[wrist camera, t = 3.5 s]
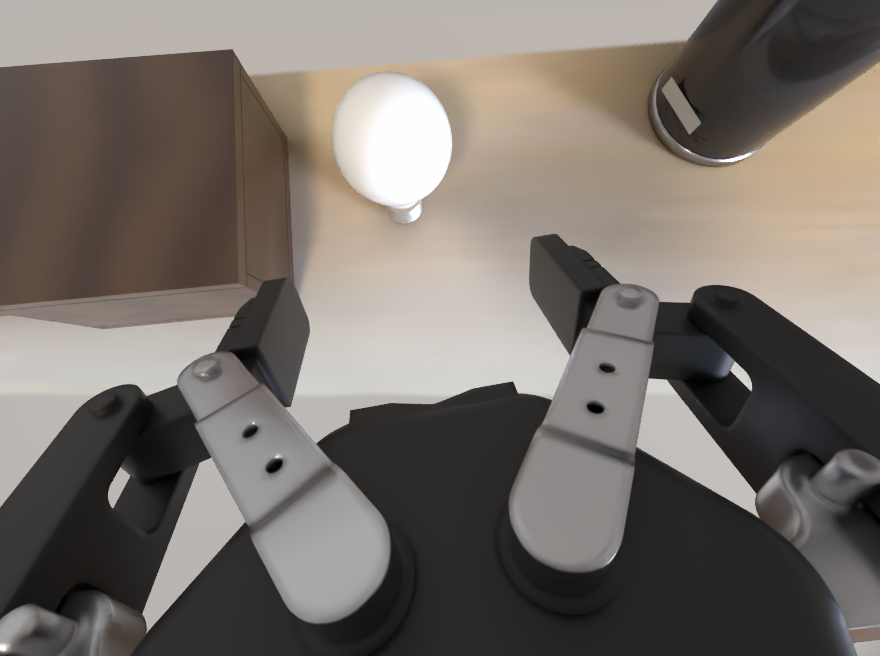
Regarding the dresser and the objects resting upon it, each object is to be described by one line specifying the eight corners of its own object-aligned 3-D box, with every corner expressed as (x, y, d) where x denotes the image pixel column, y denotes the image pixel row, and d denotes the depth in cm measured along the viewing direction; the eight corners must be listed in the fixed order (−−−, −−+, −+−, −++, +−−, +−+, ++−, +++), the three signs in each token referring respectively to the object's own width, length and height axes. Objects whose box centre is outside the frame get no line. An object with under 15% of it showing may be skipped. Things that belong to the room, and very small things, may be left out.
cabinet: (102, 329, 26) (-35, 309, 18) (107, 152, 28) (-16, 68, 20) (295, 310, 26) (238, 283, 19) (287, 137, 28) (232, 48, 20)
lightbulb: (386, 265, 27) (353, 188, 16) (348, 194, 27) (290, 72, 16) (462, 226, 27) (480, 125, 16) (422, 157, 28) (413, 15, 17)
